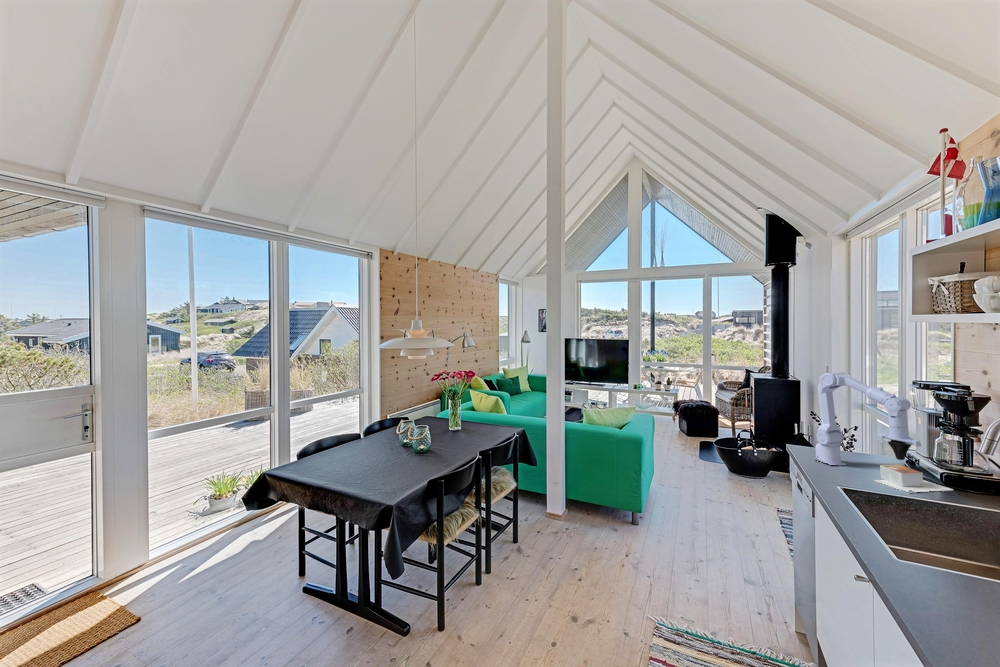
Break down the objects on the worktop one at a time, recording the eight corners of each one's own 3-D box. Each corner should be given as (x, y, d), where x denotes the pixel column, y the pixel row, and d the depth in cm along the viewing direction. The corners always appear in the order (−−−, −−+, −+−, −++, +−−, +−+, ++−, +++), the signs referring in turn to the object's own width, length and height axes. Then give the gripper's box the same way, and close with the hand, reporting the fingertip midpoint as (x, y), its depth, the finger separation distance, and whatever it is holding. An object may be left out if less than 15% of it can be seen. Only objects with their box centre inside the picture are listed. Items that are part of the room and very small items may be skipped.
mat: (874, 481, 169) (874, 480, 169) (914, 478, 170) (914, 477, 170) (909, 493, 155) (909, 492, 155) (953, 490, 156) (953, 489, 156)
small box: (899, 464, 171) (923, 472, 160) (900, 477, 170) (924, 486, 160) (879, 464, 171) (901, 472, 161) (880, 478, 171) (902, 487, 161)
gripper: (926, 429, 160) (929, 464, 159) (889, 422, 174) (891, 453, 174) (910, 430, 159) (912, 465, 159) (874, 423, 174) (876, 454, 174)
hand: (900, 459), depth 167 cm, fingers closed
